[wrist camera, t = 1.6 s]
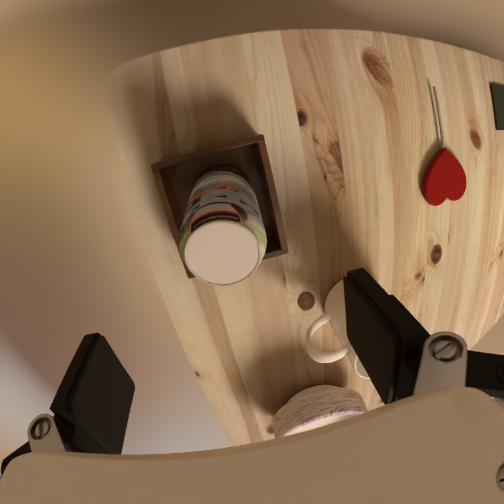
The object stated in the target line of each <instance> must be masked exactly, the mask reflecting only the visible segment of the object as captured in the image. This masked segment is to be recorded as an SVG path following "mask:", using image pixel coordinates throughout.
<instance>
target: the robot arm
mask: <svg viewBox="0 0 504 504" xmlns="http://www.w3.org/2000/svg"><path fill="white" fill-rule="evenodd" d="M343 286H344V299H345V314H346V333H347V338H348V340H349V342H350V344H351V346H352V348H353V349H354V351H355V353H356V355H357V356H358V358H359V360H360V362H361V363H362V365H363V367H364V369H365V370H366V372H367V374H368V376H369V378H370V379H371V381H372V383H373V385H374V387H375V388H376V390H377V392H378V394H379V396H380V397H381V399H382V401H383V403H384V404H385V405H384V406H382V407H379V408H376V409H373V410H371V411H368V412H365V413H362V414H360V415H357V416H354V417H351V418H348V419H345V420H342V421H338V422H335V423H332V424H329V425H325V426H322V427H319V428H315V429H312V430H308V431H304V432H301V433H297V434H293V435H289V436H285V437H280V438H276V439H272V440H267V441H262V442H257V443H251V444H246V445H240V446H234V447H228V448H221V449H213V450H205V451H195V452H184V453H170V454H146V455H121V452H122V447H123V442H124V437H125V432H126V427H127V422H128V417H129V413H130V408H131V404H132V399H133V395H134V391H135V386H134V382H133V380H132V379H131V377H130V376H129V375H128V373H127V372H126V370H125V369H124V367H123V366H122V364H121V363H120V361H119V360H118V358H117V356H116V355H115V353H114V352H113V350H112V348H111V347H110V345H109V343H108V342H107V340H106V338H105V337H104V336H101V335H100V334H99V333H93V334H88V335H85V336H84V338H83V340H82V342H81V343H80V345H79V348H78V349H77V351H76V353H75V355H74V357H73V360H72V361H71V363H70V365H69V367H68V369H67V371H66V374H65V376H64V378H63V380H62V382H61V384H60V386H59V389H58V391H57V393H56V395H55V398H54V400H53V402H52V404H51V407H50V410H51V411H52V412H53V413H54V417H52V416H51V415H49V414H41V415H39V416H37V417H36V418H35V419H34V420H33V421H32V422H31V423H30V425H29V427H28V439H29V441H28V442H27V443H25V444H24V445H22V446H21V447H20V448H18V449H17V450H16V451H14V452H13V453H11V454H10V455H9V456H7V457H6V458H5V459H4V460H3V462H2V466H1V474H2V476H0V504H504V355H497V354H490V353H483V352H476V351H469V350H467V344H466V342H465V341H464V339H463V338H462V337H460V336H459V335H457V334H455V333H452V332H448V331H446V332H438V333H434V334H433V335H430V334H429V333H428V332H427V331H426V330H425V329H424V327H423V326H422V325H421V324H420V323H419V322H418V321H417V320H416V319H415V318H414V316H413V315H412V314H411V313H410V312H409V311H408V310H407V309H406V308H405V307H404V306H403V305H402V304H401V303H400V301H399V300H398V299H397V298H396V297H395V296H393V295H388V293H387V292H386V291H385V290H384V289H383V288H382V287H381V286H380V285H379V284H378V283H377V282H376V281H375V280H374V279H373V278H372V277H371V276H370V275H369V274H368V273H367V272H366V270H365V269H363V268H359V269H356V270H352V271H349V272H348V273H347V276H346V277H344V278H343Z"/></svg>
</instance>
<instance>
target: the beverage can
mask: <svg viewBox="0 0 504 504" xmlns="http://www.w3.org/2000/svg"><path fill="white" fill-rule="evenodd" d="M178 244H179V251H180V254H181V257H182V258H183V260H184V262H185V264H186V265H187V266H188V268H189V270H190V271H191V272H192V274H193V275H194V276H196V277H197V278H198V279H200V280H201V281H203V282H205V283H208V284H211V285H216V286H229V285H234V284H237V283H240V282H242V281H244V280H245V279H247V278H248V277H250V276H251V275H252V274H253V273H254V271H255V270H256V268H257V266H258V265H259V263H260V262H261V261H262V258H263V256H264V254H265V250H266V244H267V239H266V232H265V228H264V225H263V221H262V217H261V213H260V209H259V206H258V202H257V198H256V195H255V191H254V187H253V184H252V182H251V180H250V179H249V177H248V176H247V175H246V174H245V173H244V172H242V171H241V170H239V169H237V168H235V167H232V166H227V165H219V166H214V167H211V168H209V169H207V170H205V171H204V172H203V173H201V174H200V175H199V176H198V178H197V179H196V181H195V182H194V185H193V188H192V191H191V194H190V198H189V201H188V204H187V208H186V211H185V215H184V218H183V222H182V226H181V229H180V233H179V240H178Z"/></svg>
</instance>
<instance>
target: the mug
mask: <svg viewBox="0 0 504 504" xmlns="http://www.w3.org/2000/svg"><path fill="white" fill-rule="evenodd" d="M328 321H329V322H330V324H331V326H332V328H333V330H334V332H335V334H336V336H337V337H338V339H339V341H340V343H341V345H342V348H340V349H339V350H336V351H333V352H321V351H318V350H317V349H315V348H314V346H313V345H312V342H311V337H312V335H313V333H314V332H315V331H316V330H317V329H318V328H319V327H320V326H321V325H323V324H325V323H326V322H328ZM305 347H306V350H307V353H308V354H309V356H310V357H311V358H312V359H313V360H315V361H317V362H320V363H330V362H334V361H336V360H338V359H340V358H342V357H343V356H345V355H347V357H348V359H349V361H350V362H351V364H352V366H353V368H354V370H355V372H356V373H357V374H358V376H360V377H362V378H365V379H370V378H369V376H368V374H367V372H366V370H365V369H364V367H363V365H362V363H361V362H360V360H359V358H358V356H357V355H356V353H355V351H354V349H353V348H352V346H351V344H350V342H349V340H348V338H347V333H346V314H345V299H344V286H343V279H342V280H341V281H339V282H338V283H337V284H336V285H335V286H334V287H333V288H332V289H331V290H330V292H329V294H328V296H327V298H326V302H325V314H324V315H322V316H320V317H319V318H318V319H316V320H315V321H314V322H313V323H312V324H311V325H310V327H309V328H308V330H307V333H306V339H305Z"/></svg>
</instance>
